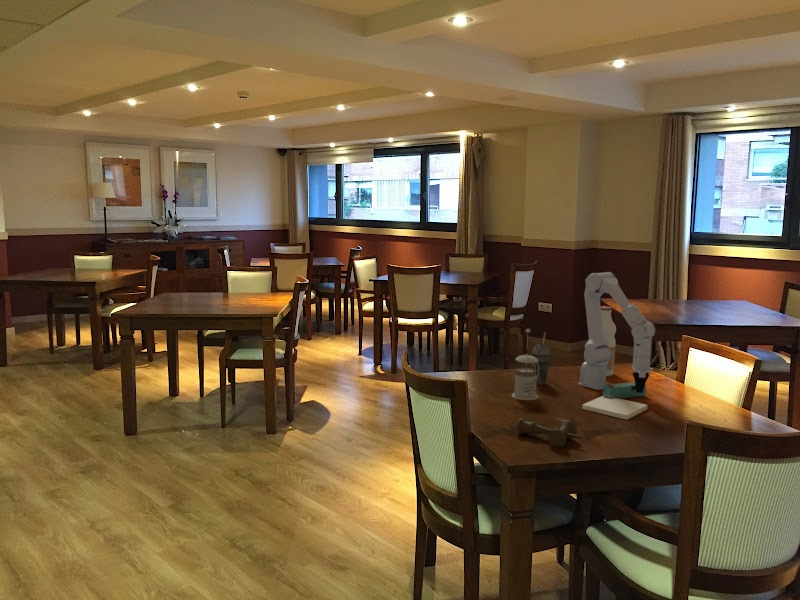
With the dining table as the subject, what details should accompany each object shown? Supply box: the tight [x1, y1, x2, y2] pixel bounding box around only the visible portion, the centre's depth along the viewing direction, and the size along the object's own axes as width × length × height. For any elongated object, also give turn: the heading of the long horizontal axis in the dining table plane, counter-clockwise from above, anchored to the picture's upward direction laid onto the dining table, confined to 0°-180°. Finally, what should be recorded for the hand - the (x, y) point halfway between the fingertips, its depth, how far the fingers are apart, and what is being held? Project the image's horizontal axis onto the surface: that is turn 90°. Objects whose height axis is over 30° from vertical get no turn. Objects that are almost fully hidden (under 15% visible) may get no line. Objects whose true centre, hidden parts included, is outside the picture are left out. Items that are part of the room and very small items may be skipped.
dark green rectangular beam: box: [602, 381, 647, 399], centre depth 243 cm, size 16×4×5 cm, turn 109°
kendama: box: [516, 417, 584, 449], centre depth 197 cm, size 6×10×20 cm
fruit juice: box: [597, 305, 617, 377], centre depth 274 cm, size 9×9×28 cm
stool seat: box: [581, 395, 648, 420], centre depth 228 cm, size 16×16×2 cm
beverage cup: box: [531, 332, 552, 386], centre depth 259 cm, size 7×7×20 cm
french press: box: [511, 328, 539, 401], centre depth 241 cm, size 10×12×25 cm
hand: (639, 392), depth 240 cm, fingers closed
